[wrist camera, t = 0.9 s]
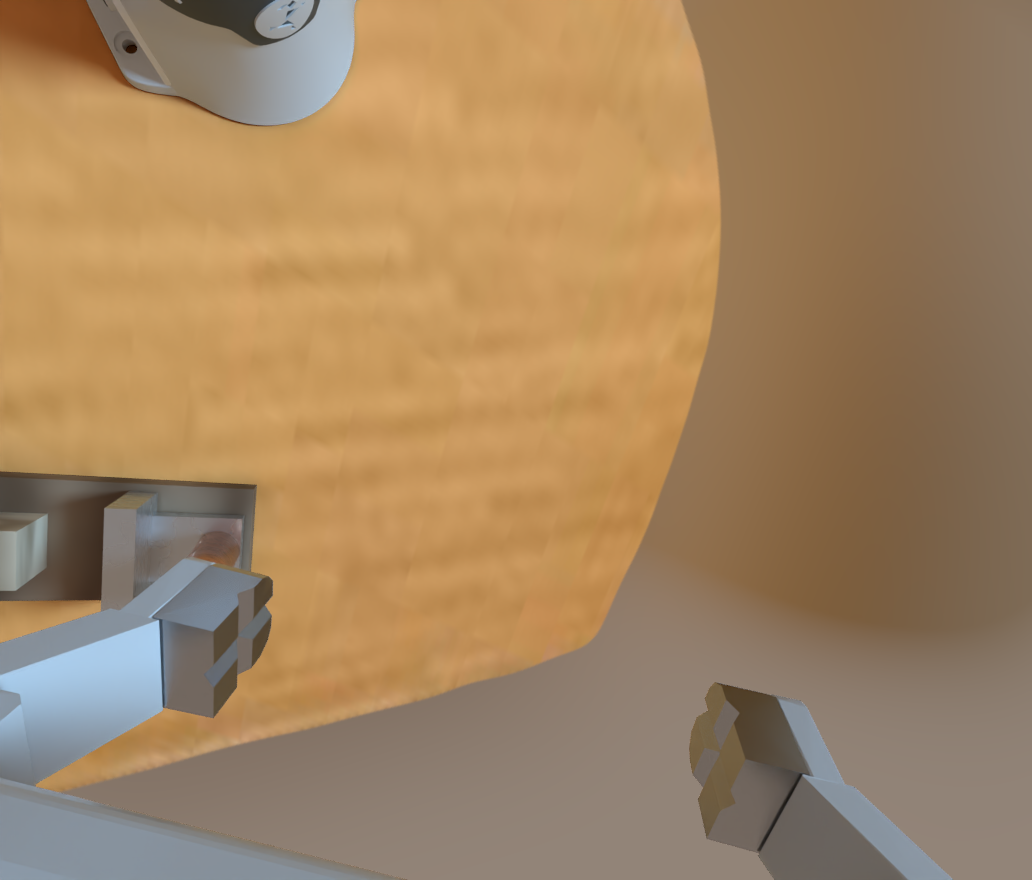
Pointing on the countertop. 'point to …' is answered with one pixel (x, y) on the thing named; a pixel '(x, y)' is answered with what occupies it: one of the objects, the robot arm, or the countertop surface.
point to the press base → (82, 523)
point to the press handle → (159, 544)
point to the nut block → (22, 548)
